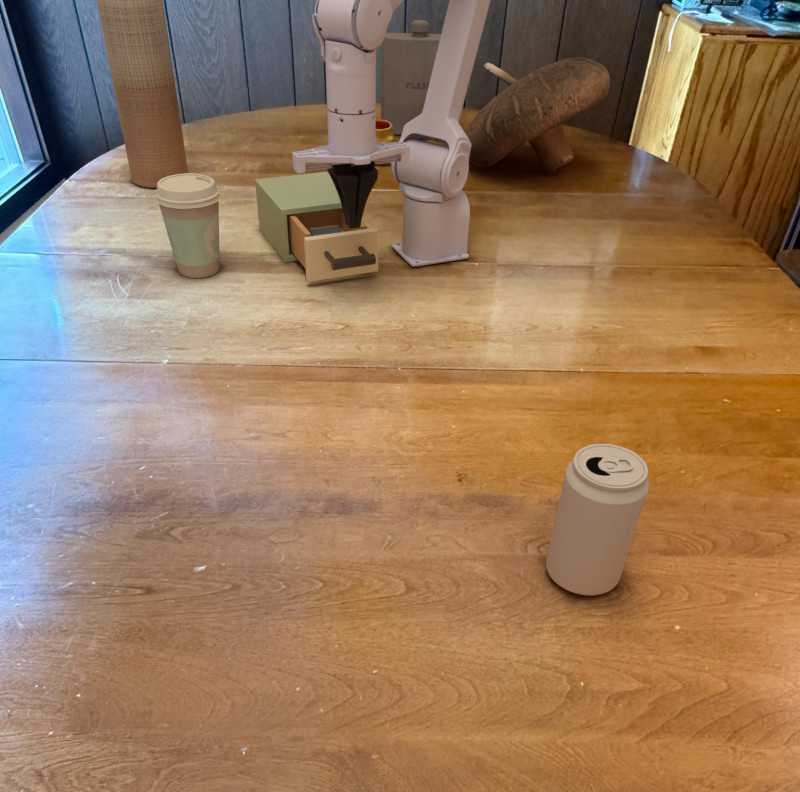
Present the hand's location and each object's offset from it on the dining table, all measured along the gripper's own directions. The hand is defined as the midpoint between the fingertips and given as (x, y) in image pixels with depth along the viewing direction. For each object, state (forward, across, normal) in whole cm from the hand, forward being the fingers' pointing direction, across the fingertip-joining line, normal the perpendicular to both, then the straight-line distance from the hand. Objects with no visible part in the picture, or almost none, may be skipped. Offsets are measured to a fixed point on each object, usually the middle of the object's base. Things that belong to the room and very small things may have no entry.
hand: (352, 225), depth 100 cm
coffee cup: (+10, -18, +15) cm, 25 cm away
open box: (+7, 0, +10) cm, 12 cm away
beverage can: (+10, 0, -58) cm, 59 cm away
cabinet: (+9, 0, +20) cm, 22 cm away
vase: (+10, -16, +55) cm, 58 cm away
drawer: (+9, 0, +8) cm, 12 cm away
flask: (+9, +39, +69) cm, 80 cm away
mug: (+10, +26, +55) cm, 62 cm away
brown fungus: (+9, +51, +40) cm, 65 cm away
